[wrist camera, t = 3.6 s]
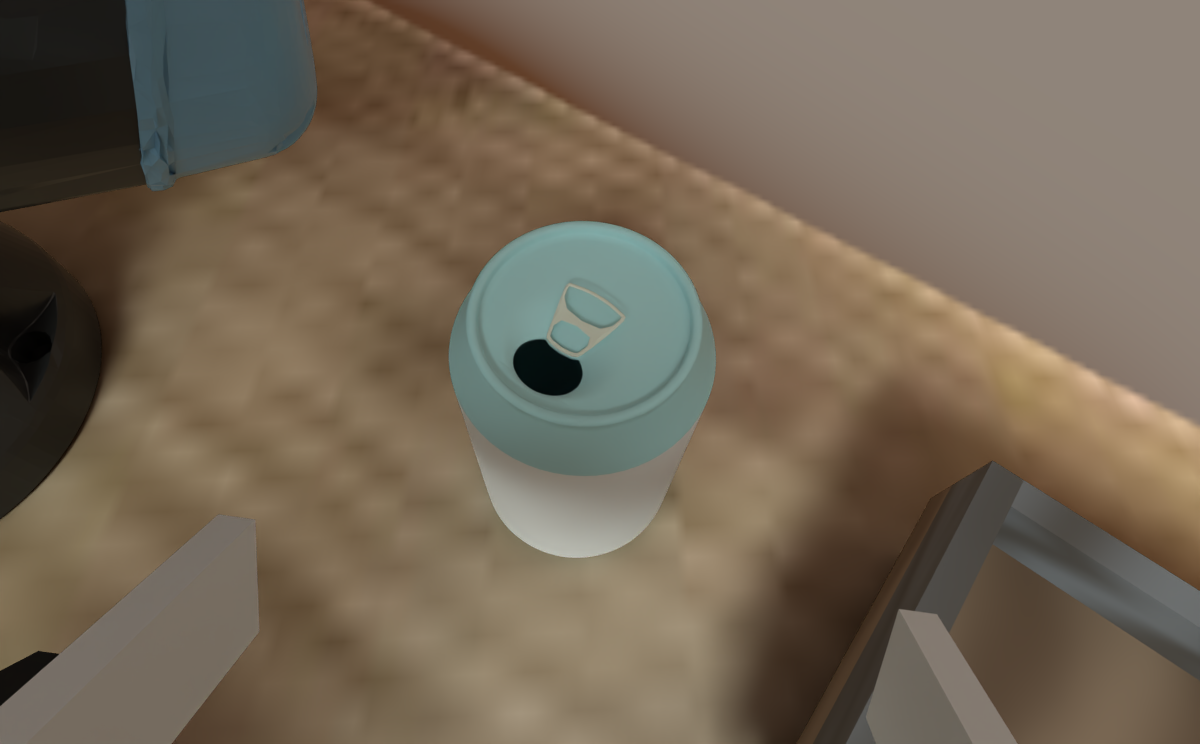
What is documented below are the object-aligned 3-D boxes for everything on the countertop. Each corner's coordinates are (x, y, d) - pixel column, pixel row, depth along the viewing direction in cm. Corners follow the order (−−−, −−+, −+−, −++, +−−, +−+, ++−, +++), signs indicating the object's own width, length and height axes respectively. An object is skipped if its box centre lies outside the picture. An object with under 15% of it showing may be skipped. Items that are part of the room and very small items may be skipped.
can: (674, 557, 26) (750, 445, 16) (485, 565, 26) (430, 456, 15) (657, 387, 30) (710, 196, 19) (488, 392, 29) (444, 200, 18)
